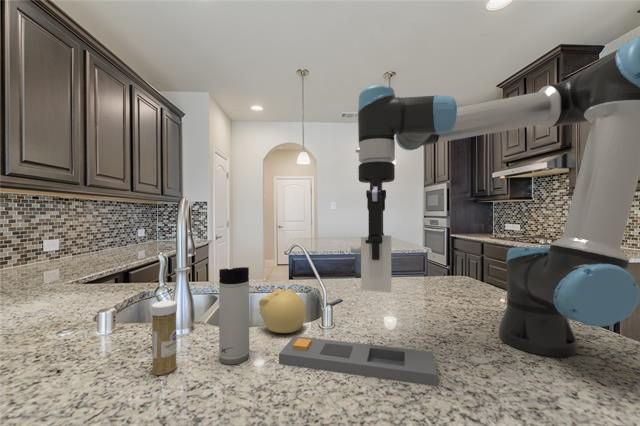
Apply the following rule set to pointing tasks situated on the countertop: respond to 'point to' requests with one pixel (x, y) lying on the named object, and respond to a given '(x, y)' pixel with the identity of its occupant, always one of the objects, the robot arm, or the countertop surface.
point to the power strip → (361, 360)
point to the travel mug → (233, 315)
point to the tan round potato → (282, 311)
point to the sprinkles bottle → (164, 337)
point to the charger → (368, 281)
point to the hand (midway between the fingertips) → (376, 272)
